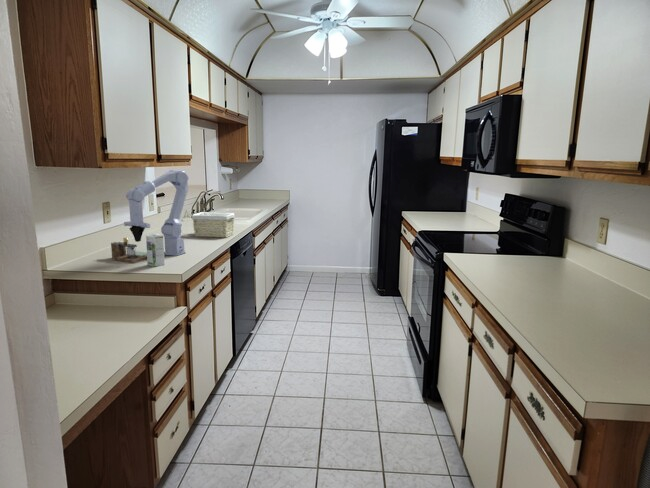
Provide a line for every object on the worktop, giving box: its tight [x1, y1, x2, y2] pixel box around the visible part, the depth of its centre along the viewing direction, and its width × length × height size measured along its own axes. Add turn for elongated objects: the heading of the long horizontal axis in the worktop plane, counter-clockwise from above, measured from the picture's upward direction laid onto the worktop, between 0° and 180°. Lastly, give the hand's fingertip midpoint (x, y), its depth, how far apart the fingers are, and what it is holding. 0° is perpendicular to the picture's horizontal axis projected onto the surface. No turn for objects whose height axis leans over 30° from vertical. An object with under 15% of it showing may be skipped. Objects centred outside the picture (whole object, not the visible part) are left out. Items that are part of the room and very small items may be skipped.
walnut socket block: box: [110, 241, 147, 264], centre depth 208 cm, size 16×10×8 cm, turn 70°
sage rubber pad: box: [126, 250, 147, 256], centre depth 219 cm, size 9×8×1 cm
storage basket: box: [191, 211, 236, 238], centre depth 275 cm, size 24×16×15 cm
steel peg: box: [126, 247, 137, 259], centre depth 207 cm, size 4×4×6 cm
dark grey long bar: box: [110, 237, 138, 248], centre depth 208 cm, size 14×2×4 cm, turn 69°
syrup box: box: [145, 233, 165, 267], centre depth 198 cm, size 6×6×14 cm
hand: (138, 241), depth 206 cm, fingers closed
